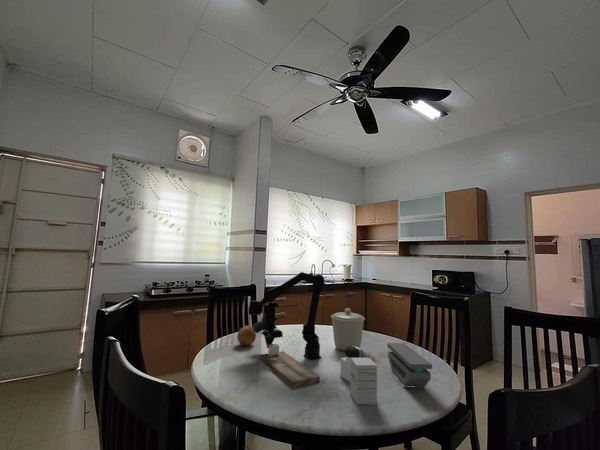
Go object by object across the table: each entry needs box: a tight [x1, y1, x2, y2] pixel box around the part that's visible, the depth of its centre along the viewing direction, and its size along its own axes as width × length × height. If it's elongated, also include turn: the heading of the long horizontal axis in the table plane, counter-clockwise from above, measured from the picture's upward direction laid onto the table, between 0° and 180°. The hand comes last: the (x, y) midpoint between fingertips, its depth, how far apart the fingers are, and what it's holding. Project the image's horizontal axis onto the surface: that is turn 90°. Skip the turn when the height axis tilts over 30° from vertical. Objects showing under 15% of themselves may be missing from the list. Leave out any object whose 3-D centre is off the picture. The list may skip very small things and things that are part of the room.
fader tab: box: [267, 343, 280, 355], centre depth 133 cm, size 4×3×4 cm
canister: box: [330, 307, 366, 352], centre depth 152 cm, size 18×18×21 cm
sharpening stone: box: [386, 342, 433, 388], centre depth 114 cm, size 25×8×11 cm, turn 2°
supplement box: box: [350, 357, 378, 405], centre depth 98 cm, size 7×7×13 cm
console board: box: [259, 350, 321, 389], centre depth 120 cm, size 12×32×2 cm, turn 30°
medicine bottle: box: [340, 346, 361, 383], centre depth 114 cm, size 7×7×12 cm
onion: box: [236, 325, 257, 347], centre depth 151 cm, size 10×10×10 cm
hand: (268, 348), depth 138 cm, fingers closed
